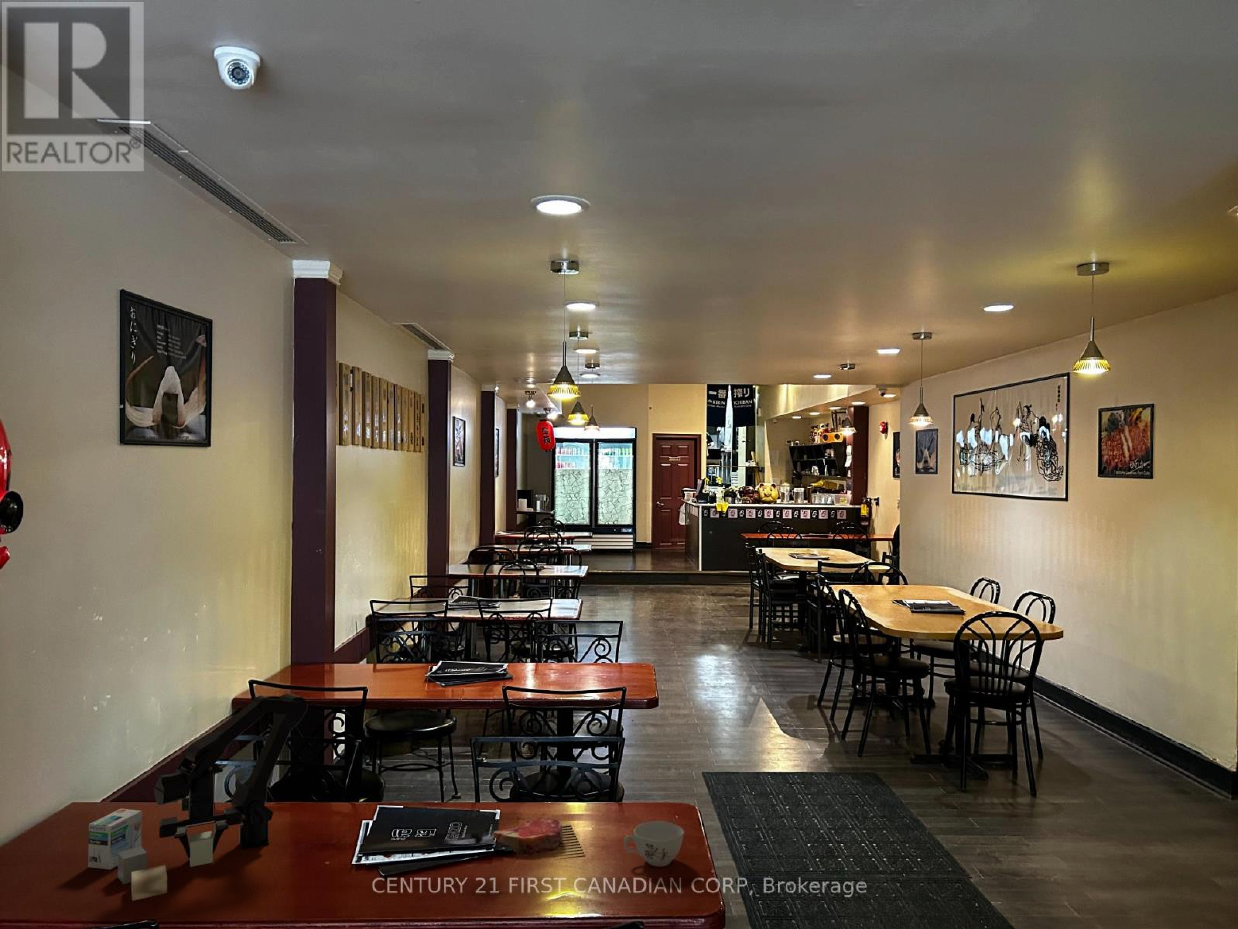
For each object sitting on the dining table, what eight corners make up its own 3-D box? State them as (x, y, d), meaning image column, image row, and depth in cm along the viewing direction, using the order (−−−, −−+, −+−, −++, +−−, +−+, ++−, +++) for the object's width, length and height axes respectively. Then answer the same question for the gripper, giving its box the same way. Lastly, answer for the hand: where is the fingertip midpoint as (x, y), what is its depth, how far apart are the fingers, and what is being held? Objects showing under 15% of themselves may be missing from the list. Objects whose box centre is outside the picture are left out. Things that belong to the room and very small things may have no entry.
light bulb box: (110, 870, 209) (110, 826, 209) (86, 868, 210) (87, 824, 210) (142, 852, 219) (143, 809, 220) (120, 849, 221) (120, 807, 221)
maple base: (165, 881, 204) (165, 865, 204) (166, 894, 198) (167, 876, 198) (131, 889, 200) (131, 872, 200) (132, 901, 194) (132, 884, 194)
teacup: (679, 850, 220) (679, 819, 220) (687, 872, 208) (687, 839, 208) (621, 852, 219) (622, 820, 219) (626, 874, 207) (626, 841, 207)
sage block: (211, 854, 218) (211, 831, 218) (212, 862, 213) (212, 838, 213) (189, 859, 215) (189, 835, 215) (190, 867, 211) (190, 842, 211)
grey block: (140, 871, 209) (141, 846, 209) (146, 877, 205) (146, 852, 205) (117, 877, 205) (118, 852, 205) (123, 884, 202) (123, 859, 202)
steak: (570, 827, 236) (570, 807, 236) (586, 860, 216) (586, 838, 216) (479, 836, 230) (479, 816, 230) (486, 871, 210) (486, 849, 210)
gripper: (239, 777, 226) (238, 836, 226) (159, 789, 217) (158, 851, 217) (242, 791, 216) (242, 852, 216) (159, 804, 207) (158, 868, 207)
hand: (201, 855), depth 214 cm, fingers closed on sage block, 5 cm apart
